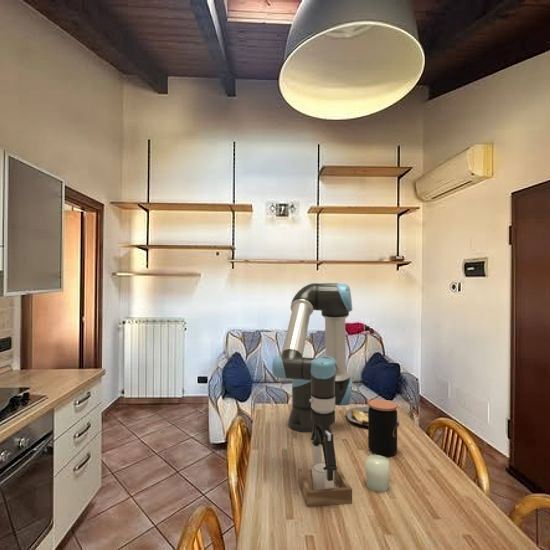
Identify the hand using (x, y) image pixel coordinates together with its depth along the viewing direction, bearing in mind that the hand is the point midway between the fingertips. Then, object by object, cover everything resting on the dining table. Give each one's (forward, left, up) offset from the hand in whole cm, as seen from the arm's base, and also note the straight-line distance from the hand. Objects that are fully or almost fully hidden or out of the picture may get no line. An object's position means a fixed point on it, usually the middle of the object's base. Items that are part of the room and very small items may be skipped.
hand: (322, 477), depth 113 cm
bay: (+1, 0, -4) cm, 4 cm away
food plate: (-52, +38, -4) cm, 64 cm away
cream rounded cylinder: (+1, +18, -4) cm, 18 cm away
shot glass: (+1, 0, -4) cm, 4 cm away
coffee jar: (-21, +30, -4) cm, 37 cm away
